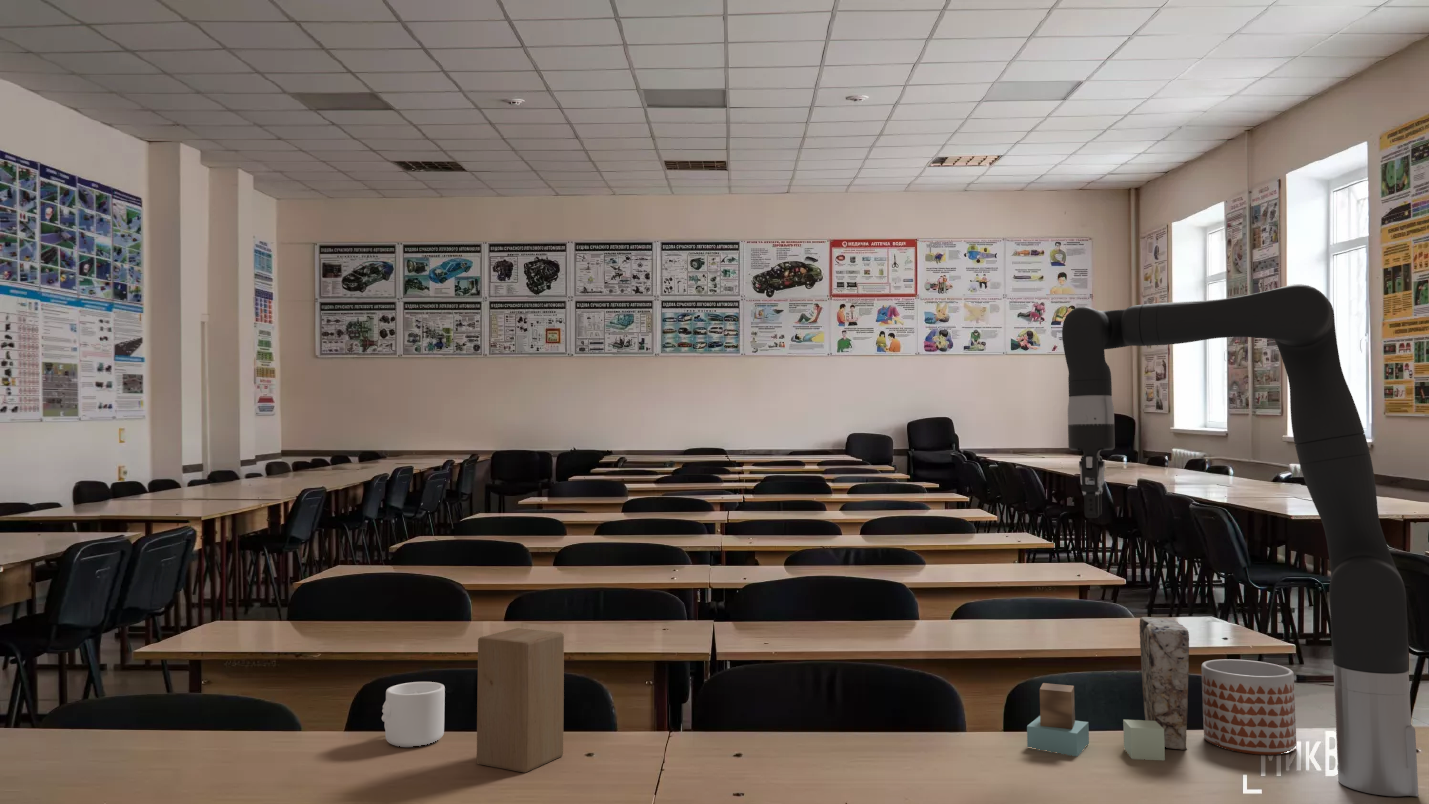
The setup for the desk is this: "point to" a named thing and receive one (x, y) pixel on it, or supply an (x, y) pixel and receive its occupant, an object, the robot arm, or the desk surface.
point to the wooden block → (520, 699)
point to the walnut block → (1057, 706)
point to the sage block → (1144, 739)
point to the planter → (1249, 706)
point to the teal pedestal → (1058, 737)
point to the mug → (414, 713)
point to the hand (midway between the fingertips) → (1093, 516)
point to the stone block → (1165, 677)
